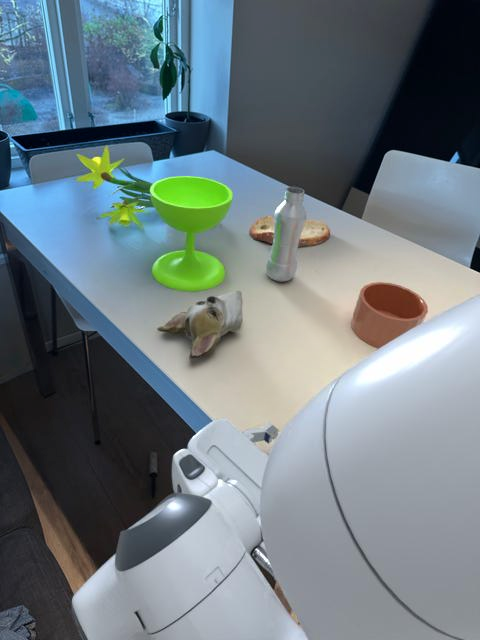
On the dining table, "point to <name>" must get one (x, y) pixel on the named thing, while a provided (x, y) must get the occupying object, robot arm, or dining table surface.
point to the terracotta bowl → (386, 312)
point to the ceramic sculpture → (208, 322)
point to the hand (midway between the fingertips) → (302, 452)
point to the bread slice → (310, 234)
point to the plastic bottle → (287, 235)
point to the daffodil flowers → (126, 208)
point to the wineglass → (190, 229)
